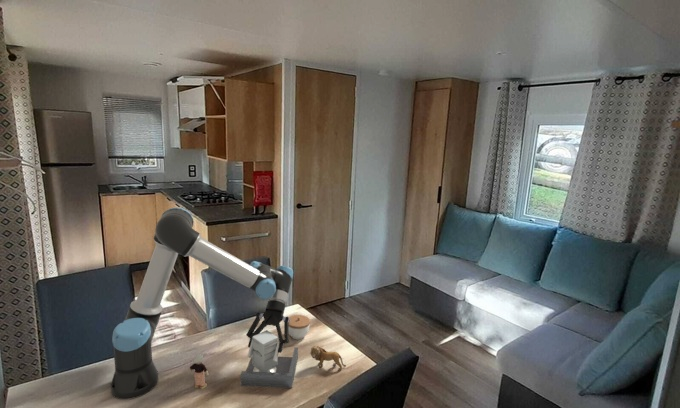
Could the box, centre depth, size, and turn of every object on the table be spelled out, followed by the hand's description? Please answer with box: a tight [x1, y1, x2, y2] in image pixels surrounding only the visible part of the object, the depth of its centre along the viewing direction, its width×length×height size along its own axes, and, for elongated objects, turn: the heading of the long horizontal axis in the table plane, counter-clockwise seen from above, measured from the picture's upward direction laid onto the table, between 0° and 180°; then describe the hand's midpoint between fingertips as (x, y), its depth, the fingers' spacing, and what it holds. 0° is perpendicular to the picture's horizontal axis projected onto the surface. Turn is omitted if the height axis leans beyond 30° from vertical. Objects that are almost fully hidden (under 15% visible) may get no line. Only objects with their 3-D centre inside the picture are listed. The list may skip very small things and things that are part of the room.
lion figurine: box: [310, 345, 347, 372], centre depth 146 cm, size 15×5×9 cm, turn 92°
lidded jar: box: [288, 314, 311, 340], centre depth 167 cm, size 11×11×9 cm
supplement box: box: [251, 330, 279, 372], centre depth 141 cm, size 7×7×13 cm
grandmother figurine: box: [188, 353, 209, 390], centre depth 131 cm, size 8×4×13 cm, turn 90°
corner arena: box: [240, 347, 299, 389], centre depth 142 cm, size 19×18×5 cm
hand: (262, 359), depth 138 cm, fingers closed on supplement box, 10 cm apart
